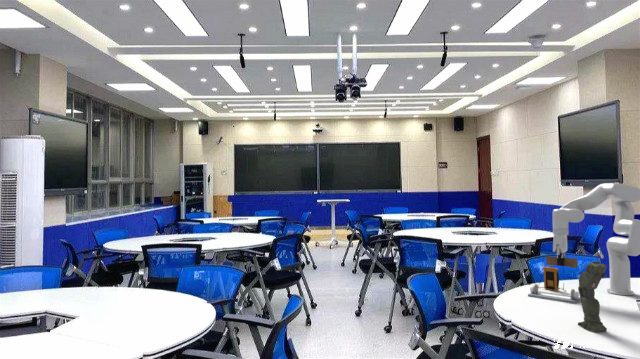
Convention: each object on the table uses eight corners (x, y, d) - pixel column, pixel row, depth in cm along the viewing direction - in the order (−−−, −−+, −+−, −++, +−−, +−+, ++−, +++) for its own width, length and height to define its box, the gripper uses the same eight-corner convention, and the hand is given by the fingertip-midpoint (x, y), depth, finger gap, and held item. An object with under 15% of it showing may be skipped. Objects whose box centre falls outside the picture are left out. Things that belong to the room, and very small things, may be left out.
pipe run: (535, 292, 243) (535, 281, 243) (581, 299, 227) (580, 287, 227) (527, 296, 234) (527, 285, 234) (574, 303, 218) (574, 291, 218)
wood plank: (545, 265, 236) (545, 256, 235) (546, 264, 237) (546, 255, 237) (577, 268, 225) (576, 259, 225) (577, 267, 227) (577, 258, 226)
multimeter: (571, 290, 247) (570, 256, 248) (563, 292, 241) (562, 257, 242) (546, 285, 259) (545, 253, 260) (537, 288, 254) (536, 254, 254)
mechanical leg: (569, 320, 188) (578, 256, 181) (584, 319, 188) (594, 256, 182) (591, 338, 174) (602, 270, 168) (607, 337, 175) (619, 269, 168)
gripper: (557, 230, 240) (557, 262, 240) (548, 232, 229) (549, 266, 229) (572, 231, 235) (572, 264, 234) (564, 232, 224) (564, 267, 223)
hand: (561, 265), depth 231 cm, fingers closed on wood plank, 1 cm apart
